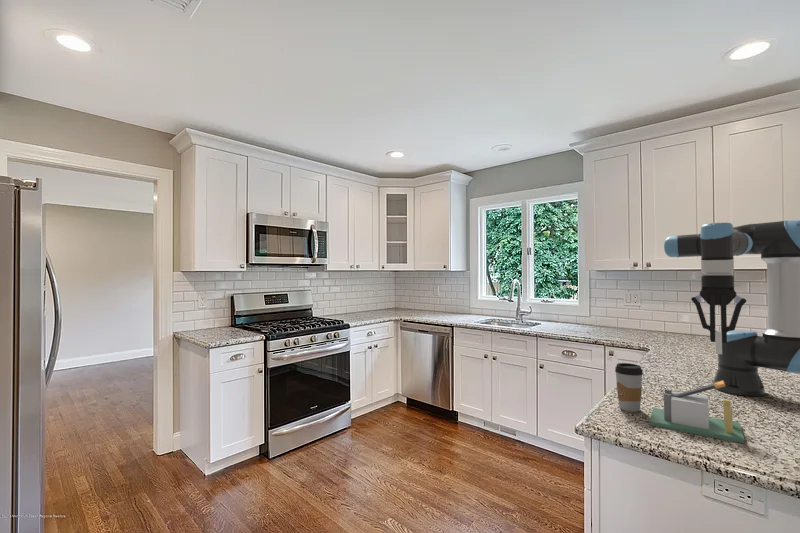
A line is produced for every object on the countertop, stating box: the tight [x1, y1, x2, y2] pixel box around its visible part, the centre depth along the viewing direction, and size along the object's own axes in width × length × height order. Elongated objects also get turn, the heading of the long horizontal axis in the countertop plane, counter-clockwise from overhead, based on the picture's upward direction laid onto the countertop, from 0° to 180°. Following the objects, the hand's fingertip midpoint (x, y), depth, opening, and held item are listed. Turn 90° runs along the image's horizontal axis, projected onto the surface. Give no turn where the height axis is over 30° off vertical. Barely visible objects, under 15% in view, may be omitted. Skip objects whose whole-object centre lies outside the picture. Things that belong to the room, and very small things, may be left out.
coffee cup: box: [614, 362, 644, 413], centre depth 132 cm, size 8×8×15 cm
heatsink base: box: [649, 388, 745, 444], centre depth 117 cm, size 22×14×9 cm, turn 52°
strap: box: [671, 380, 725, 398], centre depth 117 cm, size 16×4×1 cm, turn 52°
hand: (718, 353), depth 114 cm, fingers closed
